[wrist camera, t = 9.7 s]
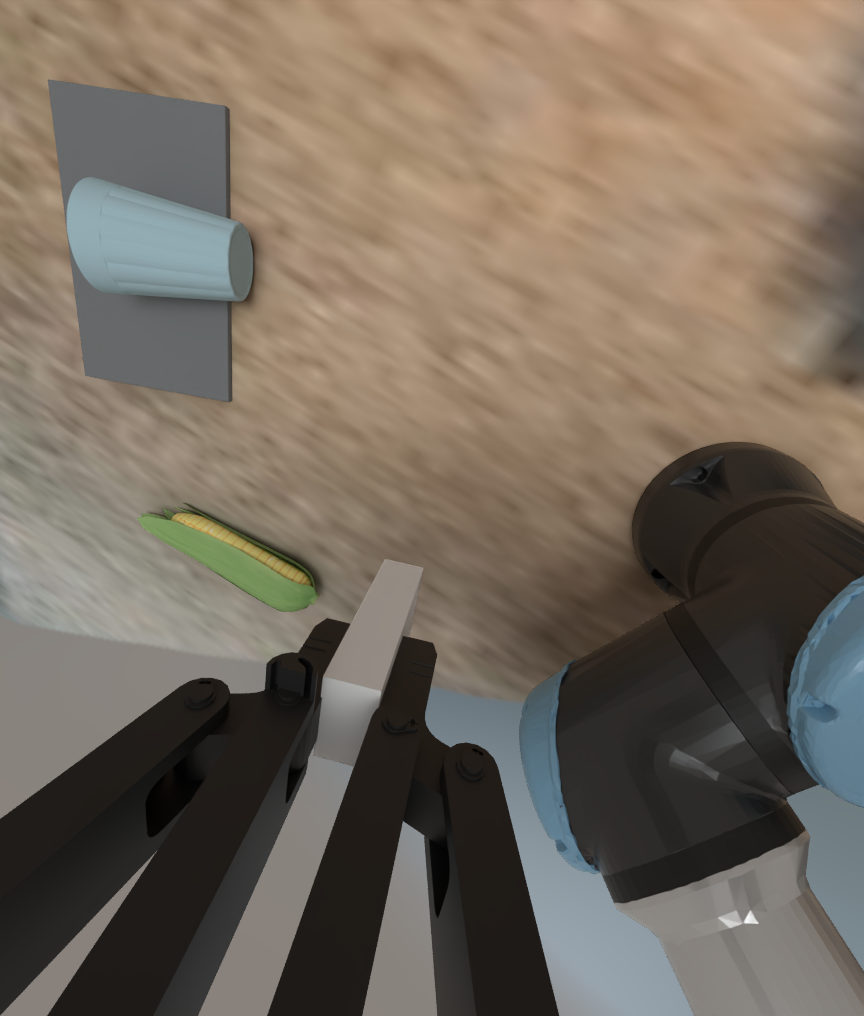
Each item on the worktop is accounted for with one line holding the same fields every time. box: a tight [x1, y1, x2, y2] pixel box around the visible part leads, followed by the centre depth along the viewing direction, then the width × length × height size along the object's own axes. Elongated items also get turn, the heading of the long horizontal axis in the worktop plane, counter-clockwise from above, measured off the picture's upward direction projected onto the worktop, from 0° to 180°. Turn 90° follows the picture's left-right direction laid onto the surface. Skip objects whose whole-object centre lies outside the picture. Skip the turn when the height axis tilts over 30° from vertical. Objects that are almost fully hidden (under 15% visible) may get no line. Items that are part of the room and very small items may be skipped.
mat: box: [48, 80, 232, 402], centre depth 40 cm, size 14×22×1 cm, turn 171°
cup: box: [67, 177, 253, 301], centre depth 36 cm, size 8×8×10 cm
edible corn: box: [137, 504, 320, 612], centre depth 48 cm, size 5×20×5 cm
